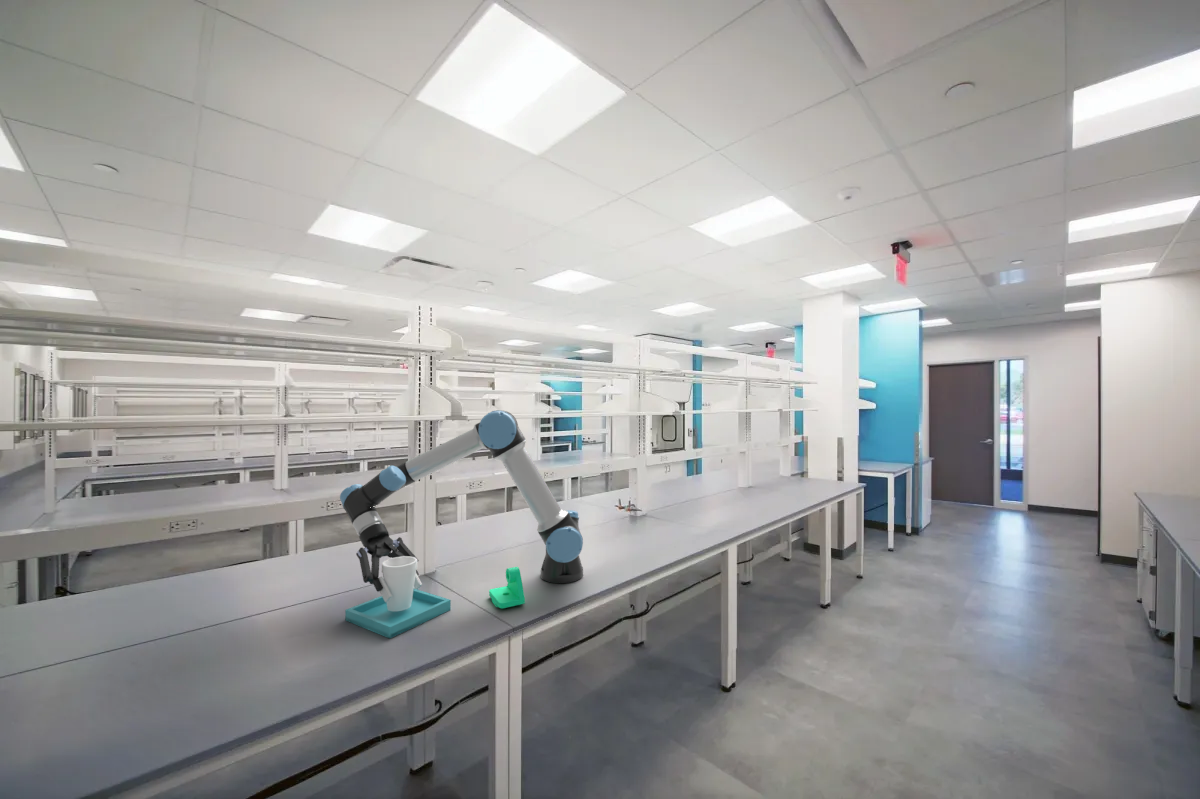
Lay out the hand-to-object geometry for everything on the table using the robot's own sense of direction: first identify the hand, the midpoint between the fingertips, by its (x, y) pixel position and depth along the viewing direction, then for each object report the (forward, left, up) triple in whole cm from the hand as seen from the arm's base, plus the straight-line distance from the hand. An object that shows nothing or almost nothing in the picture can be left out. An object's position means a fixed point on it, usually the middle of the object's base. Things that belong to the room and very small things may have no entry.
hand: (404, 593), depth 134 cm
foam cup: (0, -2, -5) cm, 5 cm away
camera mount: (-23, +18, -7) cm, 30 cm away
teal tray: (0, -2, -7) cm, 7 cm away
